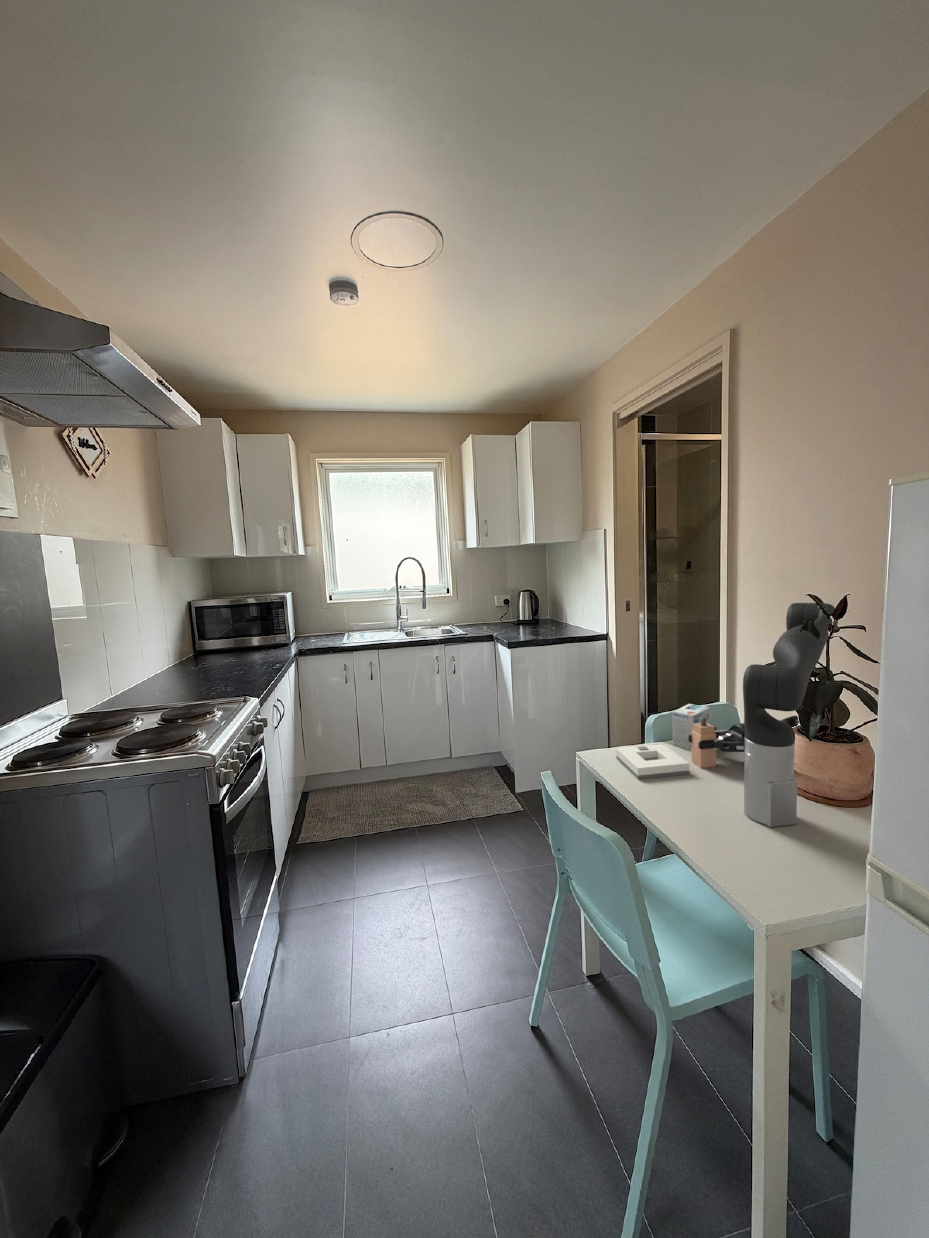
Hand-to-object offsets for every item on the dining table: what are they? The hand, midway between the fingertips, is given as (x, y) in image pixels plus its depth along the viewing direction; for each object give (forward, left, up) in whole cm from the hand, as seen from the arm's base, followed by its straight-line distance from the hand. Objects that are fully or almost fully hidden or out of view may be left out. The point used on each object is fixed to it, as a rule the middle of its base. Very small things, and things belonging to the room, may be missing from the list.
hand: (694, 741), depth 137 cm
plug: (0, -3, -7) cm, 7 cm away
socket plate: (+2, +11, -7) cm, 13 cm away
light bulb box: (+15, -8, -7) cm, 18 cm away
